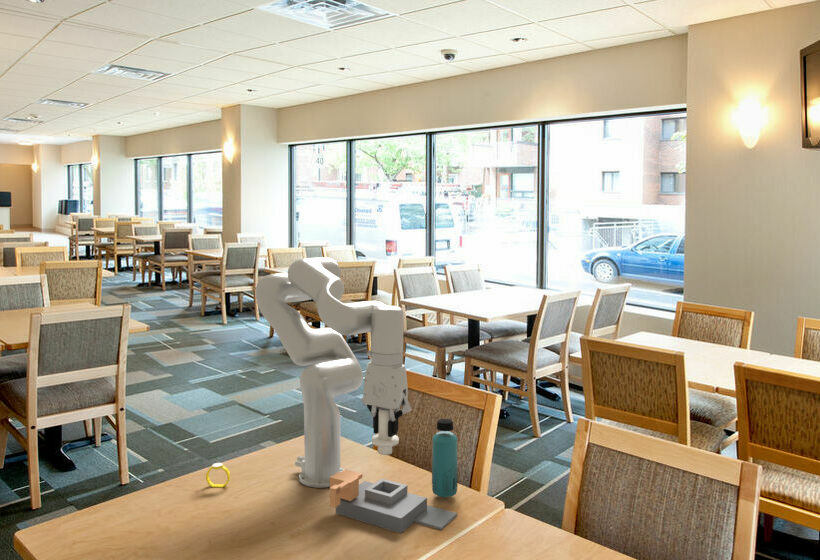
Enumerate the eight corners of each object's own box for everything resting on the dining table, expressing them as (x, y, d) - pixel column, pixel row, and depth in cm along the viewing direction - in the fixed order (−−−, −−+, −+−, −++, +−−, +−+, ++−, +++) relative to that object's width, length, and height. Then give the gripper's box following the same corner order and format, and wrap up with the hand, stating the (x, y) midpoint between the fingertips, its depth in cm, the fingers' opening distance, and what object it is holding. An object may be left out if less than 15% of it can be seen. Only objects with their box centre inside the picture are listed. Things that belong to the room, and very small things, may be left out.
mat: (410, 521, 148) (410, 518, 148) (427, 507, 155) (427, 505, 155) (441, 530, 144) (441, 527, 144) (456, 515, 151) (456, 513, 151)
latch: (315, 504, 147) (315, 483, 147) (343, 486, 157) (343, 466, 156) (336, 510, 144) (336, 489, 144) (363, 492, 154) (364, 472, 153)
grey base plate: (336, 513, 151) (336, 491, 151) (364, 494, 161) (364, 473, 161) (400, 533, 142) (401, 509, 142) (426, 511, 152) (427, 489, 152)
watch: (205, 489, 164) (203, 467, 163) (209, 485, 167) (207, 463, 166) (228, 488, 164) (226, 466, 163) (232, 483, 167) (229, 461, 166)
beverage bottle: (455, 504, 156) (457, 425, 154) (429, 501, 158) (430, 423, 155) (459, 493, 163) (460, 417, 160) (433, 490, 164) (434, 415, 162)
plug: (366, 453, 151) (367, 405, 150) (381, 445, 157) (381, 398, 155) (389, 459, 148) (390, 410, 146) (403, 450, 153) (404, 403, 152)
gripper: (348, 356, 150) (347, 431, 153) (408, 367, 142) (407, 446, 144) (366, 350, 157) (365, 422, 159) (425, 360, 149) (423, 436, 151)
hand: (385, 432), depth 152 cm, fingers closed on plug, 3 cm apart
